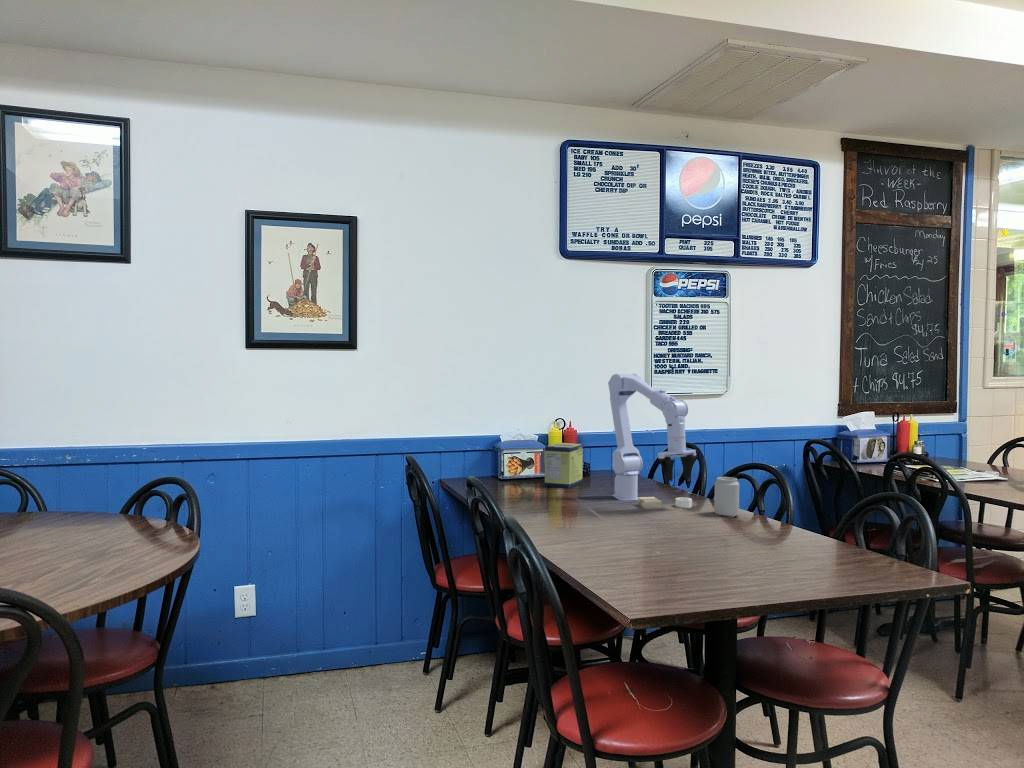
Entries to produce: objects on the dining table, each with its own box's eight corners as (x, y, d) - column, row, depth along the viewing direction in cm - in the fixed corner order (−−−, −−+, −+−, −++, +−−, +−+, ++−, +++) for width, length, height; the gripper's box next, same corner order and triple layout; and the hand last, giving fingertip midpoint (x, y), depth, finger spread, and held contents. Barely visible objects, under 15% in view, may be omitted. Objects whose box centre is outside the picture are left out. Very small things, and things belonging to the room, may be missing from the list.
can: (741, 518, 234) (742, 479, 234) (717, 517, 234) (718, 479, 234) (735, 513, 242) (735, 476, 241) (711, 512, 242) (712, 475, 241)
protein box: (582, 482, 299) (583, 443, 298) (569, 488, 285) (570, 447, 284) (558, 480, 303) (558, 442, 303) (544, 486, 289) (544, 446, 288)
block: (637, 504, 252) (637, 497, 252) (653, 503, 253) (653, 496, 253) (645, 508, 244) (645, 501, 244) (661, 508, 245) (661, 501, 245)
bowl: (673, 506, 252) (673, 497, 252) (687, 506, 252) (688, 497, 252) (679, 509, 246) (679, 500, 246) (694, 509, 247) (694, 500, 247)
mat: (629, 504, 255) (629, 502, 255) (655, 503, 256) (655, 501, 256) (641, 511, 243) (641, 509, 243) (668, 510, 244) (668, 509, 244)
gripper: (667, 439, 237) (669, 482, 237) (701, 436, 244) (703, 478, 244) (653, 438, 243) (654, 480, 243) (686, 436, 250) (688, 476, 250)
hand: (678, 479), depth 244 cm, fingers open, 7 cm apart
